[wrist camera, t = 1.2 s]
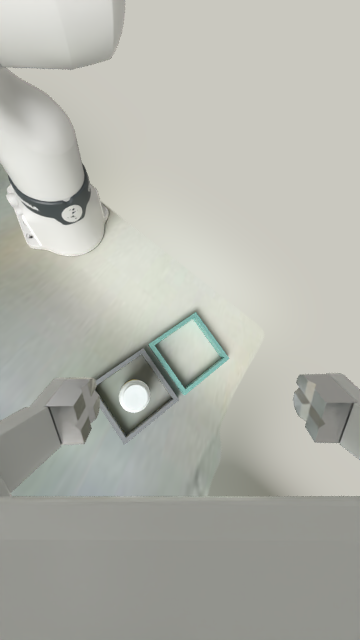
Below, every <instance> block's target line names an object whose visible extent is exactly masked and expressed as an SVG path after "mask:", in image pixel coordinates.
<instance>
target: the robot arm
mask: <svg viewBox="0 0 360 640" xmlns="http://www.w3.org/2000/svg"><path fill="white" fill-rule="evenodd" d="M124 14H125V0H0V163H1V164H2V166H3V167H4V169H5V170H6V172H7V174H8V177H9V181H10V183H11V184H10V185H9V187H8V188H7V192H8V194H6V197H7V199H8V201H9V202H10V204H11V205H12V207H13V208H14V210H15V213H16V216H17V218H18V221H19V224H20V226H21V229H22V231H23V234H24V237H25V239H26V242H27V244H28V245H29V247H31V248H34V249H45V250H49V251H51V252H53V253H56V254H59V255H64V256H77V255H82V254H85V253H87V252H89V251H91V250H93V249H94V248H95V247H96V246H97V245H98V244H99V243H100V242H101V240H102V238H103V235H104V225H105V222H106V220H107V218H108V216H109V212H108V209H107V208H106V207H105V206H104V205H103V204H102V203H101V202H100V198H99V194H98V191H97V189H96V188H94V187H93V186H92V185H91V184H90V181H89V177H88V175H87V172H86V169H85V167H84V165H83V164H82V162H81V157H80V153H79V148H78V144H77V140H76V135H75V131H74V128H73V125H72V123H71V121H70V119H69V118H68V116H67V115H66V114H65V112H64V111H63V110H62V108H61V107H60V106H59V105H58V104H57V103H56V102H55V101H54V100H53V99H52V98H51V97H50V96H49V95H48V94H46V93H45V92H44V91H42V90H40V89H39V88H37V87H35V86H33V85H31V84H30V83H28V82H26V81H24V80H22V79H21V78H19V77H18V76H16V75H15V74H13V73H12V72H11V71H9V70H8V69H7V68H6V67H13V68H42V69H68V70H69V69H70V70H71V69H76V68H80V67H84V66H88V65H92V64H96V63H99V62H102V61H106V60H109V59H111V58H112V56H113V54H114V52H115V51H116V48H117V46H118V43H119V40H120V37H121V34H122V29H123V24H124ZM31 237H33V238H31ZM296 383H297V385H298V386H299V388H298V389H297V390H296V391H295V392H294V398H293V401H294V407H295V410H296V412H297V414H298V416H299V417H300V418H302V419H303V420H305V421H306V426H305V427H306V428H307V431H308V432H309V434H310V435H311V437H312V439H313V440H314V442H317V443H340V445H341V446H342V447H344V448H345V449H346V450H347V451H349V452H350V453H351V454H353V455H354V456H355V457H356V458H358V459H359V460H360V389H359V388H358V387H357V386H355V385H354V384H353V383H352V382H351V381H350V380H349V379H348V378H347V377H346V376H344V375H343V374H341V373H329V374H310V375H309V374H307V375H299V376H298V378H297V382H296ZM96 387H97V384H96V381H95V379H94V378H55V379H53V380H52V381H51V383H50V384H49V385H48V386H47V387H46V388H45V389H44V391H43V392H42V393H41V394H40V395H39V396H38V398H37V399H36V400H35V401H34V402H33V403H32V405H31V406H30V407H25V408H23V409H21V410H19V411H17V412H16V413H14V414H12V415H10V416H8V417H6V418H5V419H3V420H1V421H0V640H360V496H305V497H304V496H284V497H283V496H272V497H270V496H266V497H264V496H260V497H206V496H12V495H11V492H12V491H13V490H14V489H16V488H17V487H18V486H19V485H20V484H21V483H22V482H23V481H24V480H25V479H26V478H28V477H29V476H30V475H31V474H32V473H33V472H34V471H35V470H36V469H37V468H38V467H39V466H41V465H42V464H43V463H44V462H45V461H46V460H47V459H48V458H49V457H50V456H51V455H53V454H54V453H55V452H56V451H57V450H58V449H59V448H60V447H61V445H73V444H85V442H86V440H87V438H88V435H89V433H90V431H91V429H92V428H91V424H90V423H92V422H93V421H94V420H95V419H96V418H97V416H98V413H99V409H100V397H99V394H98V393H96V392H95V389H96Z"/></svg>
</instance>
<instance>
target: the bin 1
mask: <svg viewBox="0 0 360 640" xmlns="http://www.w3.org/2000/svg"><path fill="white" fill-rule="evenodd" d="M140 355H142V356H143V357H144V358H145V360H146V361H147V363H148V364H149V366H150V367H151V369H152V370H153V371H154V373H155V374H156V376H157V377H158V379H159V380H160V382H161V383H162V384H163V386H164V387H165V389H166V390H167V392H168V393H169V395H170V396H171V398H172V399H170V400H169V401H168V402H167V403H165V404H164V405H163V406H162V407H161V408H159V409H158V410H157V411H156V412H154V413H153V414H152V415H151V416H149V417H148V418H147V419H146V420H144V421H143V422H142V423H141V424H140V425H138V426H137V427H136V428H135V429H133V430H132V431H131V432H130V433H128V434H127V435H125V433H124V432H123V430H122V428H121V427H120V425H119V424H118V422H117V421H116V419H115V418H114V416H113V415H112V413H111V412H110V410H109V409H108V407H107V406H106V404H105V403H104V401H103V400H102V398H101V397H100V395H99V397H100V408H101V410H102V411H103V413H104V414H105V416H106V417H107V419H108V420H109V422H110V423H111V425H112V426H113V428H114V430H115V431H116V433H117V434H118V436H119V437H120V439H121V440H122V442H123V443H124V445H125V444H126V443H127V442H128V441H130V440H131V439H132V438H133V437H135V436H136V435H137V434H138V433H139V432H141V431H142V430H143V429H144V428H146V427H147V426H148V425H149V424H150V423H152V422H153V421H154V420H155V419H156V418H158V417H159V416H160V415H161V414H163V413H164V412H165V411H166V410H167V409H169V408H170V407H171V406H172V405H174V404H175V403H176V402H177V401H178V400H179V399H178V398H177V396H176V395H175V393H174V392H173V390H172V389H171V387H170V386H169V385H168V383H167V382H166V380H165V379H164V377H163V376H162V374H161V373H160V372H159V370H158V369H157V367H156V366H155V364H154V363H153V362H152V360H151V359H150V357H149V356H148V354H147V353H146V351H145V350H144V349H141V350H140V351H138V352H137V353H135V354H134V355H132V356H131V357H129V358H128V359H127V360H125V361H124V362H122V363H121V364H119V365H118V366H116V367H115V368H113V369H112V370H111V371H109V372H108V373H106V374H105V375H103V376H102V377H100V378H99V379H97V380H96V384H97V385H98V384H100V383H101V382H103V381H104V380H106V379H107V378H108V377H110V376H111V375H113V374H114V373H116V372H117V371H119V370H120V369H121V368H123V367H124V366H126V365H127V364H129V363H130V362H132V361H133V360H134V359H136V358H137V357H139V356H140ZM95 392H96V393H98V392H97V391H96V389H95Z"/></svg>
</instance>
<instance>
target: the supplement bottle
mask: <svg viewBox="0 0 360 640" xmlns="http://www.w3.org/2000/svg"><path fill="white" fill-rule="evenodd" d="M150 396H151V394H150V389H149V387H148V386H147V384H146V383H144V382H143V381H140V380H137V379H133V380H129V381H128V382H126V383H125V384H124V385H123V386H122V388H121V390H120V393H119V402H120V404H121V406H122V407H123V408H124V409H125V410H126V411H128V412H133V413H134V412H139V411H141V410H143V409H144V408H145V407H146V406H147V405H148V403H149V401H150Z"/></svg>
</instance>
